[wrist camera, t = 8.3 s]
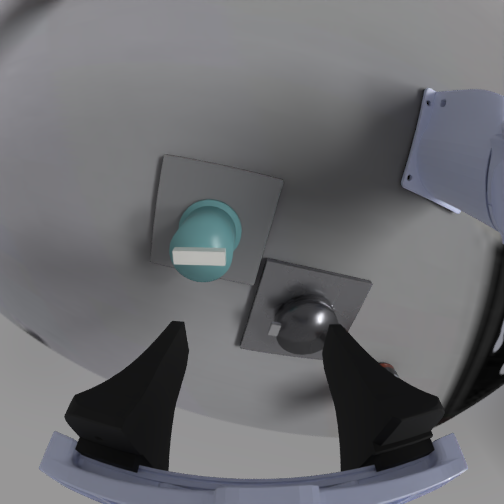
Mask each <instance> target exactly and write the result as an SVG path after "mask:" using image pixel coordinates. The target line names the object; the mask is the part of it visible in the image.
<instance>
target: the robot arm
mask: <svg viewBox="0 0 504 504" xmlns="http://www.w3.org/2000/svg"><path fill="white" fill-rule="evenodd" d="M427 101H428V103H429V105H427ZM408 175H409V176H410V178H409V180H407V176H408ZM401 185H402V187H403V188H405V189H407V190H409V191H412V192H414V193H416V194H418V195H420V196H423V197H425V198H427V199H429V200H431V201H433V202H435V203H437V204H439V205H441V206H443V207H445V208H447V209H449V210H451V211H453V212H455V213H457V214H459V213H460V212H461V211H463V212H465V213H467V214H469V215H470V216H472V217H474V218H476V219H478V220H479V221H481V222H483V223H485V224H487V225H488V226H490V227H492V228H493V229H495V230H497V231H498V232H500V234H501V236H502V243H503V244H504V96H502V95H500V94H497V93H495V92H492V91H488V90H482V89H468V90H453V91H442V92H436V91H434V90H433V89H431V88H426V89H425V90H424V95H423V100H422V105H421V110H420V114H419V119H418V123H417V127H416V131H415V135H414V139H413V143H412V147H411V150H410V154H409V157H408V161H407V164H406V167H405V171H404V174H403V177H402V180H401ZM188 354H189V348H188V342H187V336H186V330H185V324H184V322H180V321H172V322H171V323H170V324H169V325H168V326H167V328H166V329H165V330H164V331H163V332H162V333H161V334H160V336H159V337H158V338H157V339H156V340H155V341H154V342H153V343H152V344H151V345H150V346H149V348H148V349H147V350H145V351H144V352H143V353H142V354H141V355H140V356H139V357H138V358H137V359H136V360H135V361H134V362H132V363H131V364H130V365H129V366H128V367H126V368H125V369H124V370H122V371H121V372H119V373H118V374H116V375H115V376H113V377H112V378H110V379H109V380H107V381H105V382H103V383H102V384H99V385H97V386H95V387H93V388H91V389H89V390H86V391H84V392H81V393H79V394H76V395H75V396H74V397H73V399H72V401H71V403H70V405H69V407H68V410H67V412H66V414H65V420H66V422H67V423H68V424H69V426H70V427H71V428H72V429H73V430H74V431H75V432H76V433H77V434H78V435H79V437H80V438H79V441H78V442H77V441H76V440H74V439H73V438H70V437H68V436H66V435H63V434H61V433H59V432H57V431H54V433H53V435H52V437H51V440H50V442H49V444H48V446H47V449H46V451H45V454H44V456H43V459H42V461H41V464H40V466H39V469H40V470H41V471H42V472H44V473H45V474H46V475H48V476H49V477H51V478H52V479H54V480H55V481H57V482H58V483H60V484H61V485H63V486H65V487H66V488H68V489H70V490H73V491H75V492H77V493H79V494H81V495H84V496H86V497H88V498H90V499H93V500H95V501H98V502H100V503H103V504H404V503H406V502H409V501H411V500H414V499H416V498H418V497H421V496H422V495H425V494H428V493H430V492H432V491H434V490H436V489H438V488H440V487H442V486H443V485H445V484H447V483H448V482H450V481H451V480H453V479H454V478H456V477H457V476H459V475H460V474H462V473H463V472H464V471H466V470H467V469H468V466H467V464H466V461H465V458H464V456H463V453H462V451H461V449H460V446H459V444H458V441H457V439H456V437H455V435H454V433H451V434H449V435H446V436H444V437H441V438H439V439H437V440H435V441H434V442H432V441H431V439H430V438H431V437H432V436H433V434H432V432H431V430H432V428H433V427H434V426H435V425H436V424H437V423H438V422H439V421H440V420H441V418H442V417H443V415H444V412H445V411H444V408H443V406H442V404H441V402H440V400H439V398H438V397H437V396H434V395H432V394H429V393H426V392H424V391H422V390H419V389H417V388H415V387H413V386H411V385H410V384H408V383H406V382H404V381H403V380H401V379H400V378H398V377H396V376H395V375H394V374H392V373H391V372H389V371H388V370H387V369H385V368H384V367H383V366H382V365H380V364H379V363H378V362H377V361H376V360H375V359H374V358H372V357H371V356H370V355H369V354H368V353H367V352H366V351H365V350H364V349H363V348H362V347H361V346H360V345H359V344H358V343H357V342H356V340H355V339H354V338H353V337H352V336H351V335H350V334H349V333H348V332H347V330H346V329H345V328H344V327H343V326H342V325H341V324H329V327H328V331H327V335H326V339H325V343H324V347H323V351H322V357H323V364H324V370H325V374H326V377H327V381H328V384H329V388H330V391H331V395H332V398H333V402H334V406H335V410H336V416H337V423H338V432H339V442H340V458H341V472H336V473H330V474H324V475H316V476H307V477H295V478H279V479H233V478H216V477H205V476H197V475H188V474H182V473H176V472H169V471H168V467H169V451H170V440H171V432H172V423H173V417H174V410H175V406H176V402H177V398H178V395H179V391H180V388H181V384H182V381H183V377H184V374H185V370H186V366H187V360H188Z"/></svg>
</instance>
